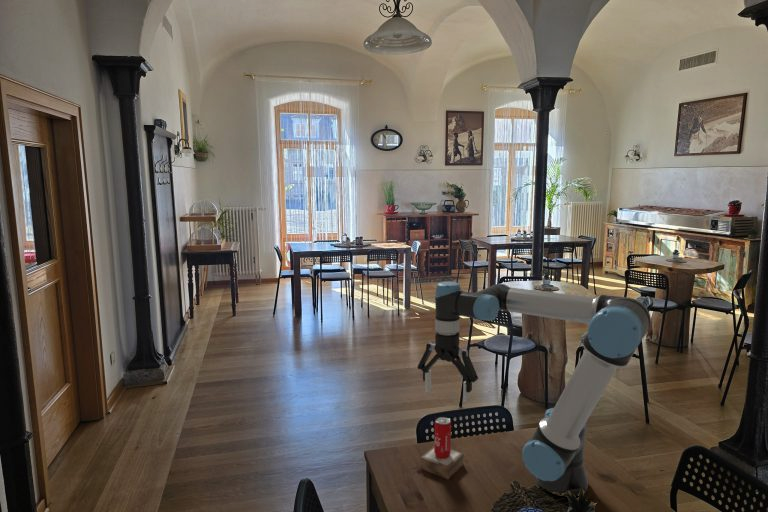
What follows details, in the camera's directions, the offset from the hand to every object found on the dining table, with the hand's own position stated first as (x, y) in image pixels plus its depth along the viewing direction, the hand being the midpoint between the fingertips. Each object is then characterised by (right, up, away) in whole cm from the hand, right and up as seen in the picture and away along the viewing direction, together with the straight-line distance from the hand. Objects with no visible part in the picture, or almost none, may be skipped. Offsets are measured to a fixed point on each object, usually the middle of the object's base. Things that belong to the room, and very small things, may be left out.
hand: (446, 396), depth 162 cm
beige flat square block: (-1, -24, +3) cm, 24 cm away
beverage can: (-1, -20, +3) cm, 20 cm away
